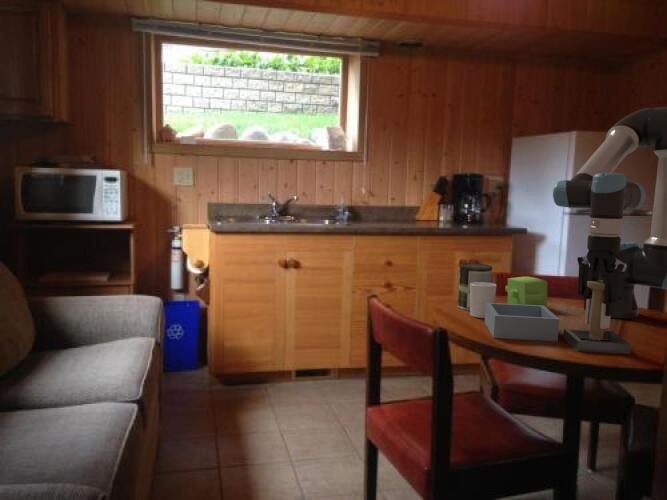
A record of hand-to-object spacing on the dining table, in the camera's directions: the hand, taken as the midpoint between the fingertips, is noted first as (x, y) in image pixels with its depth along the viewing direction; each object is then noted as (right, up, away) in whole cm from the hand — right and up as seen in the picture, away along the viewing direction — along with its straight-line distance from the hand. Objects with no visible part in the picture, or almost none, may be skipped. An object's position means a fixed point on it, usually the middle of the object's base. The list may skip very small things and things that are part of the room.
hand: (596, 325), depth 145 cm
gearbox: (-4, 0, +46) cm, 46 cm away
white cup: (-22, -1, +30) cm, 37 cm away
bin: (-16, -3, +12) cm, 20 cm away
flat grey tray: (0, -5, +1) cm, 5 cm away
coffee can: (-22, 0, +41) cm, 46 cm away
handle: (0, -4, +1) cm, 4 cm away
